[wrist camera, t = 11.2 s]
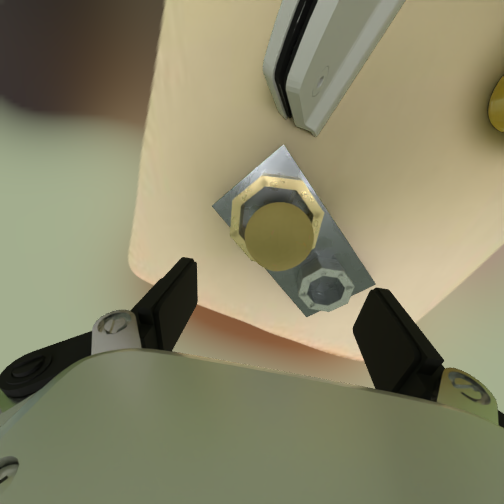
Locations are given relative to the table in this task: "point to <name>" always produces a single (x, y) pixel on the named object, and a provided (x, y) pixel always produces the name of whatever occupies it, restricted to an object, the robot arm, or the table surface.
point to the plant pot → (497, 106)
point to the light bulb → (279, 236)
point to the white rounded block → (321, 53)
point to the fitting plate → (325, 235)
